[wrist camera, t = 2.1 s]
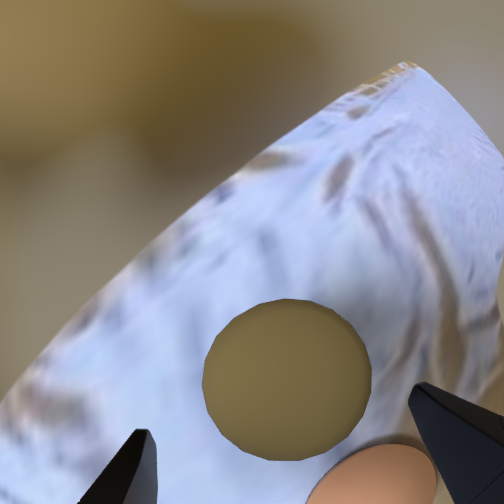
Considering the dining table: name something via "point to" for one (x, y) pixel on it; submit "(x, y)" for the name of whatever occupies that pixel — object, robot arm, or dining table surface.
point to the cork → (287, 380)
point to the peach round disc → (378, 478)
